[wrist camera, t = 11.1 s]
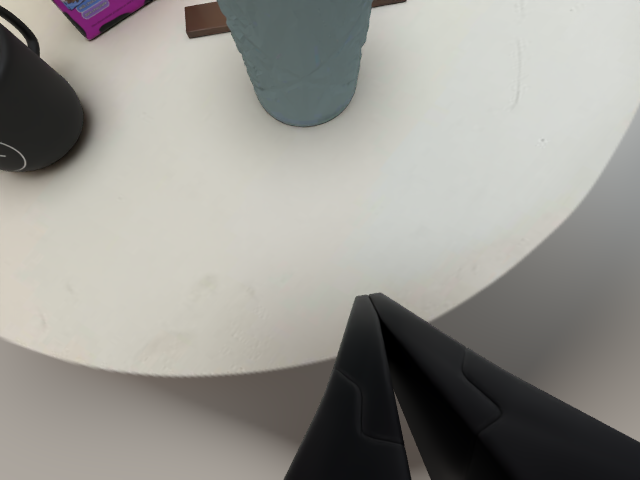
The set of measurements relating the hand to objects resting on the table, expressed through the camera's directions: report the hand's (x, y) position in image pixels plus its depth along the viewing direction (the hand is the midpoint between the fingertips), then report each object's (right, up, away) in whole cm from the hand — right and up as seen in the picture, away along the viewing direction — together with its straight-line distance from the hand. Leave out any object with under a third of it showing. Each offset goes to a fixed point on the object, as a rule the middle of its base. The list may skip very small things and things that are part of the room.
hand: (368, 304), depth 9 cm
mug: (-25, +13, +16) cm, 32 cm away
